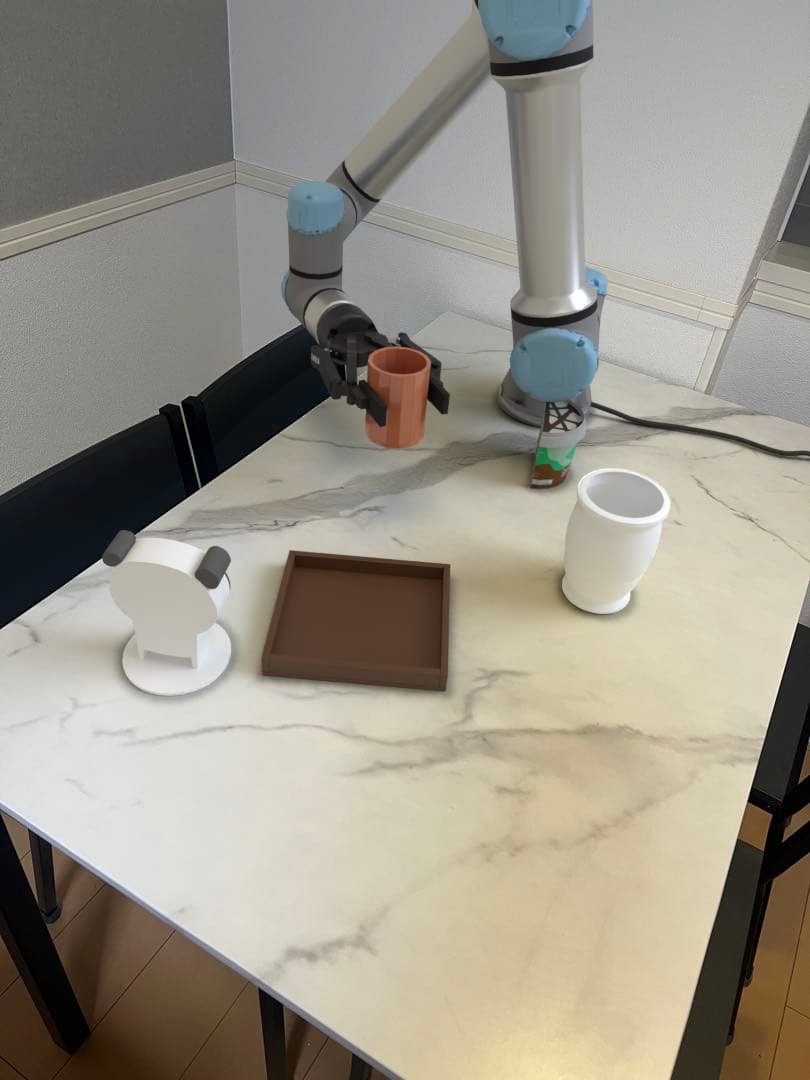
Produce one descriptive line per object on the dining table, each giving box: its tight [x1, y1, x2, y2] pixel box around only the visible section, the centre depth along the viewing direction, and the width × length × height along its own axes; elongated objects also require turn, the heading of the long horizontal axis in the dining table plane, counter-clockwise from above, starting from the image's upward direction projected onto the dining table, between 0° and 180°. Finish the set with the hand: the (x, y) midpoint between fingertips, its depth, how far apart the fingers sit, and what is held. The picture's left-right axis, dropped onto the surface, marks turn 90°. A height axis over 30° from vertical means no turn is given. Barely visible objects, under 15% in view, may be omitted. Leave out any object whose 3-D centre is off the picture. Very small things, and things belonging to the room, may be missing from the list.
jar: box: [561, 467, 672, 615], centre depth 94 cm, size 11×10×15 cm
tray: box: [260, 549, 451, 692], centre depth 91 cm, size 20×18×3 cm
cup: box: [364, 347, 431, 450], centre depth 98 cm, size 7×7×10 cm
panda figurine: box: [101, 529, 232, 697], centre depth 82 cm, size 12×11×15 cm
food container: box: [530, 399, 587, 490], centre depth 115 cm, size 12×6×10 cm, turn 168°
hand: (415, 410), depth 94 cm, fingers closed on cup, 7 cm apart
